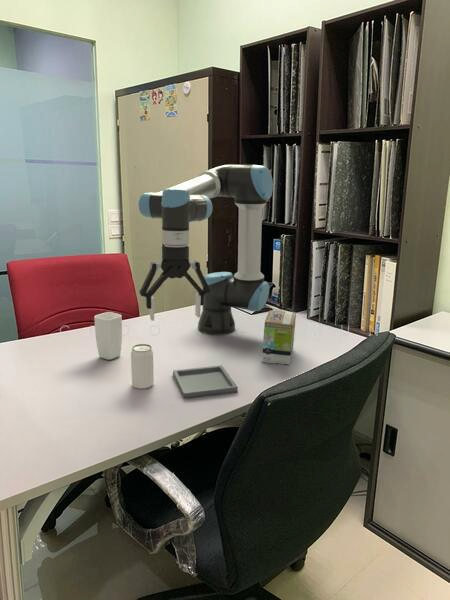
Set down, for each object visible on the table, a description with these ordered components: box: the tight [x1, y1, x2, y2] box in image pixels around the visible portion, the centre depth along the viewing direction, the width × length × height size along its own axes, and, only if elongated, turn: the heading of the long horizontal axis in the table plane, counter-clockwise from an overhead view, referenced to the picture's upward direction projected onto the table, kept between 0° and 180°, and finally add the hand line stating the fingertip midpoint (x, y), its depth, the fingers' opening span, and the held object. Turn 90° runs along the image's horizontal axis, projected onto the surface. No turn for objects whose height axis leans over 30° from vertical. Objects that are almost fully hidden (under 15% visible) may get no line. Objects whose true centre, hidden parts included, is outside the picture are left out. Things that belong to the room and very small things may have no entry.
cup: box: [93, 311, 123, 361], centre depth 157 cm, size 7×7×15 cm
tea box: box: [261, 309, 297, 365], centre depth 162 cm, size 15×10×15 cm, turn 168°
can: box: [130, 343, 155, 390], centre depth 138 cm, size 6×6×12 cm
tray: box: [172, 365, 239, 400], centre depth 141 cm, size 16×16×2 cm
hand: (175, 317), depth 135 cm, fingers open, 13 cm apart
